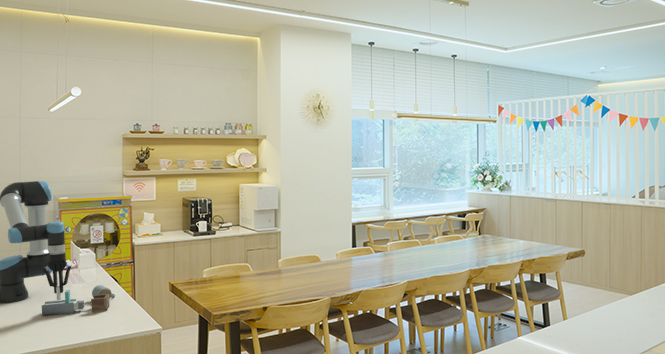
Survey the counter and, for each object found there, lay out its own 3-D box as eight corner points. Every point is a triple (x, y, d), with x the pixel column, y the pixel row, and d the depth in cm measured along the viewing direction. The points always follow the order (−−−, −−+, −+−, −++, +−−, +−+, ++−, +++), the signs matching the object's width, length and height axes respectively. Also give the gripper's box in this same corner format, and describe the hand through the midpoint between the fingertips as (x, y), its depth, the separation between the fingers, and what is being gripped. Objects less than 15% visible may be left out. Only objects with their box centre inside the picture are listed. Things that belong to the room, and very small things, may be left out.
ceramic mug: (99, 303, 260) (99, 288, 259) (91, 300, 265) (91, 286, 264) (118, 298, 268) (118, 284, 268) (110, 295, 273) (110, 282, 273)
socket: (94, 307, 253) (94, 295, 252) (109, 305, 255) (108, 293, 254) (91, 312, 245) (91, 299, 245) (106, 310, 247) (106, 298, 247)
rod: (45, 310, 244) (44, 292, 244) (84, 307, 249) (83, 288, 249) (42, 313, 241) (41, 294, 241) (82, 309, 246) (81, 290, 245)
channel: (46, 312, 246) (45, 301, 246) (76, 309, 250) (76, 299, 249) (42, 316, 240) (41, 305, 239) (73, 313, 244) (72, 302, 243)
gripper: (39, 255, 238) (42, 302, 239) (69, 253, 241) (71, 300, 242) (44, 252, 245) (46, 298, 246) (73, 250, 248) (75, 295, 250)
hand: (59, 299), depth 244 cm, fingers closed
